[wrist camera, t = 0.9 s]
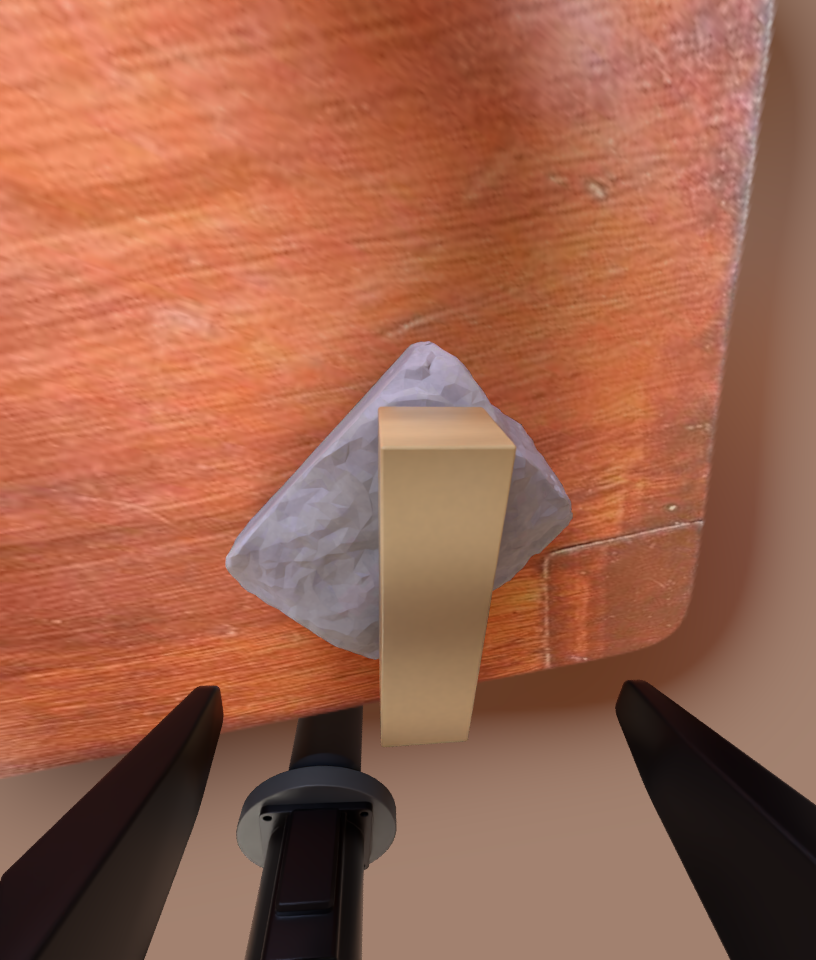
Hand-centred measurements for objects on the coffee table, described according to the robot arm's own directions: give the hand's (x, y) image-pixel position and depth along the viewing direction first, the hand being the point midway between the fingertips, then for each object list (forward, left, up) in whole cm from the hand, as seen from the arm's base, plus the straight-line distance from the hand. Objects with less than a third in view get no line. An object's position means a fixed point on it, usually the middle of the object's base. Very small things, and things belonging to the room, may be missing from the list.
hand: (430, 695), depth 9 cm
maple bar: (0, 0, -5) cm, 5 cm away
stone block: (0, 0, -10) cm, 10 cm away
